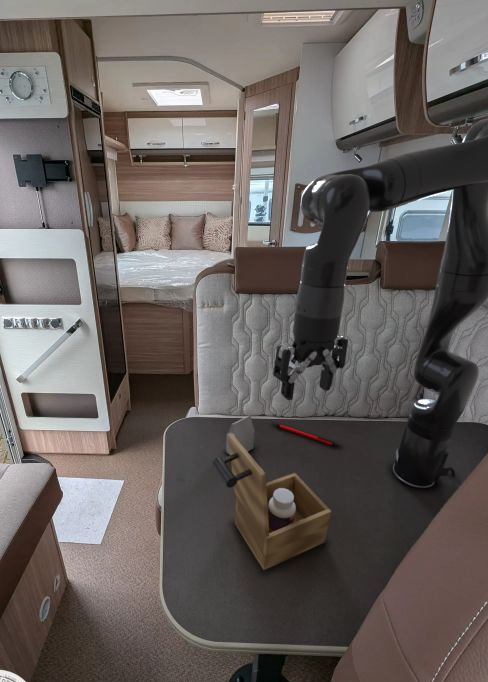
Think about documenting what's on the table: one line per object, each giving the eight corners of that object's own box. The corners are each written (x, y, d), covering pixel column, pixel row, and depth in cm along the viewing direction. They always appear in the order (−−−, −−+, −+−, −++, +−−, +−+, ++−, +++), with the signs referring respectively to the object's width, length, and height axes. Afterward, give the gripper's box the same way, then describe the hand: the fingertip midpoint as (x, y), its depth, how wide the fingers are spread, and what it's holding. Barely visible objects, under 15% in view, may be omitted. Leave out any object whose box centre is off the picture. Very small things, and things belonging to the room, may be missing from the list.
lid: (231, 432, 66) (203, 443, 64) (265, 473, 57) (234, 488, 55) (238, 491, 74) (213, 502, 72) (269, 535, 64) (241, 550, 62)
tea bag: (253, 448, 100) (255, 418, 96) (235, 458, 96) (237, 428, 92) (243, 441, 103) (245, 412, 98) (226, 451, 99) (227, 421, 94)
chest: (290, 502, 83) (295, 472, 79) (324, 542, 74) (331, 511, 70) (234, 523, 78) (236, 493, 74) (263, 570, 68) (267, 538, 64)
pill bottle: (292, 543, 73) (297, 508, 68) (265, 538, 73) (268, 503, 69) (292, 521, 77) (297, 487, 73) (266, 517, 78) (270, 483, 74)
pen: (337, 447, 101) (338, 444, 100) (273, 426, 110) (274, 423, 109) (338, 446, 101) (339, 442, 101) (275, 424, 110) (275, 421, 110)
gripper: (297, 322, 55) (286, 412, 62) (367, 310, 60) (349, 394, 68) (270, 308, 61) (263, 391, 68) (335, 299, 66) (322, 377, 74)
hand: (306, 393), depth 68 cm, fingers open, 8 cm apart
